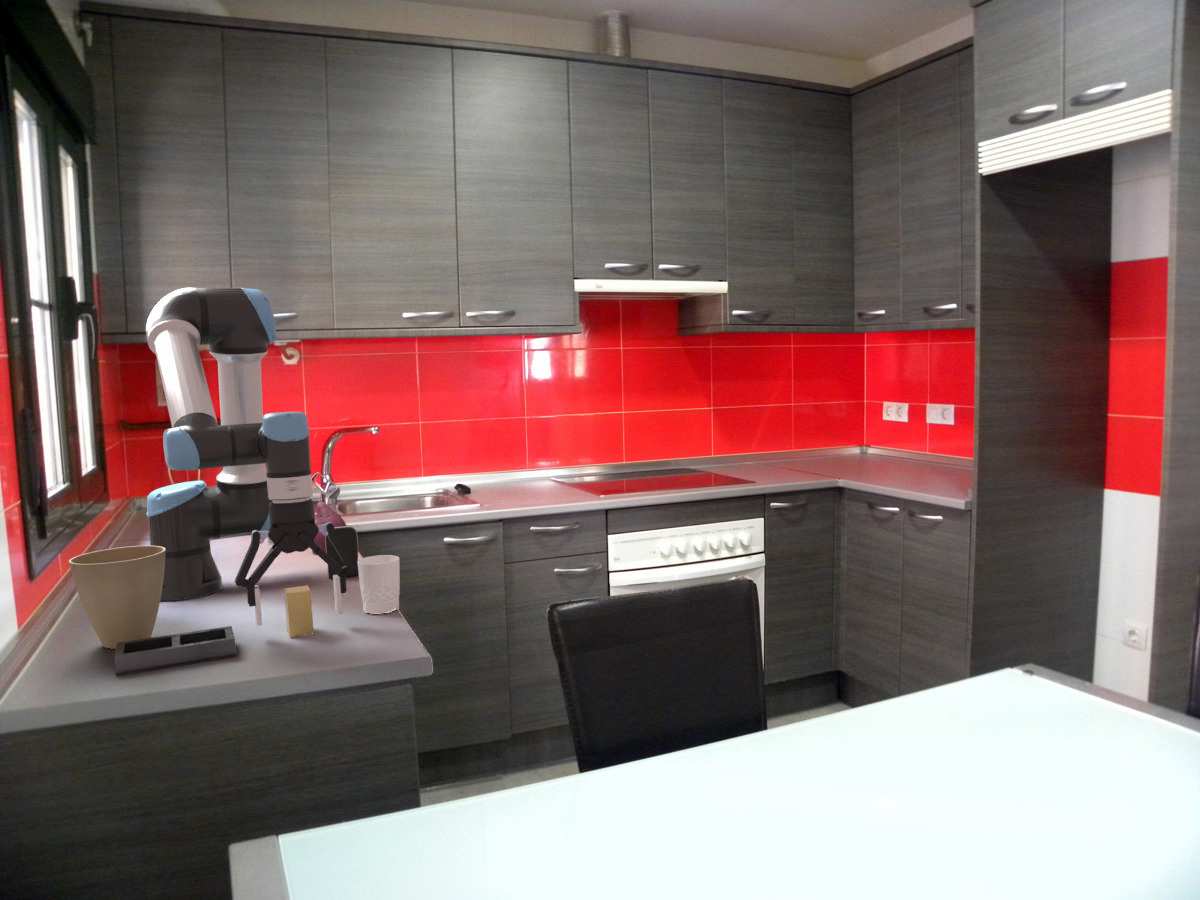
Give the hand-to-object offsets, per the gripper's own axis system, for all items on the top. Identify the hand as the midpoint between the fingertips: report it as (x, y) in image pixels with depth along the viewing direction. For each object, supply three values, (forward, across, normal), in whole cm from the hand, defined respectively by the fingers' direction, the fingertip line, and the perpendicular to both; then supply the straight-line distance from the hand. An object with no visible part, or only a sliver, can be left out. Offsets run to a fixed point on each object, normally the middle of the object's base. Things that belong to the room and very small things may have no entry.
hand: (299, 617), depth 160 cm
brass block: (+3, 0, 0) cm, 3 cm away
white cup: (+3, +16, +7) cm, 18 cm away
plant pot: (+3, -28, +11) cm, 30 cm away
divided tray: (+3, -20, -3) cm, 20 cm away
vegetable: (+2, +17, +70) cm, 72 cm away
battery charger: (+2, +15, +40) cm, 43 cm away
